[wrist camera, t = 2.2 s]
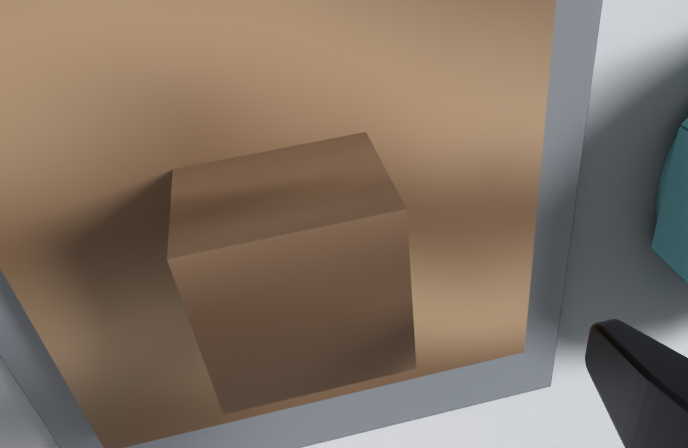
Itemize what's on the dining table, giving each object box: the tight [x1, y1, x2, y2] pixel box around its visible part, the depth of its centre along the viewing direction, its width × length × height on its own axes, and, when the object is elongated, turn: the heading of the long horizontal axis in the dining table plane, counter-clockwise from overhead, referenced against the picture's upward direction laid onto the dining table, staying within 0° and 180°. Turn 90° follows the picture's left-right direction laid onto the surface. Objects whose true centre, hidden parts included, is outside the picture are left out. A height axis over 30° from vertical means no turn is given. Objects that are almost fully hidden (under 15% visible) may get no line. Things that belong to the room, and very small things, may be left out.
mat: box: [0, 0, 603, 448], centre depth 14 cm, size 18×15×1 cm
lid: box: [0, 0, 556, 448], centre depth 13 cm, size 12×12×4 cm
